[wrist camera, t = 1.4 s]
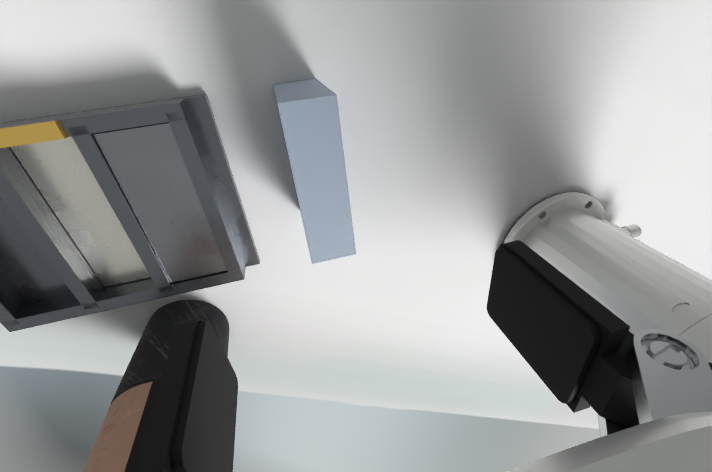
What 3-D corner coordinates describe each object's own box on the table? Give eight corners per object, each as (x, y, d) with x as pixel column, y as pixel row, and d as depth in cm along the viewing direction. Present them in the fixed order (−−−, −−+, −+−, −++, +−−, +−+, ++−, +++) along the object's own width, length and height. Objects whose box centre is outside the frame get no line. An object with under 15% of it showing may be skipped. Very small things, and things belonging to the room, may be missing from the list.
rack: (206, 93, 22) (199, 100, 20) (259, 259, 30) (259, 278, 27) (-148, 143, 19) (-202, 157, 17) (11, 313, 27) (-12, 339, 24)
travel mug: (139, 297, 29) (-31, 655, 12) (232, 296, 31) (197, 597, 14) (149, 357, 32) (28, 697, 16) (232, 353, 35) (203, 645, 18)
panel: (315, 78, 23) (336, 94, 17) (334, 203, 29) (356, 254, 22) (273, 84, 23) (277, 103, 16) (300, 210, 28) (311, 263, 22)
